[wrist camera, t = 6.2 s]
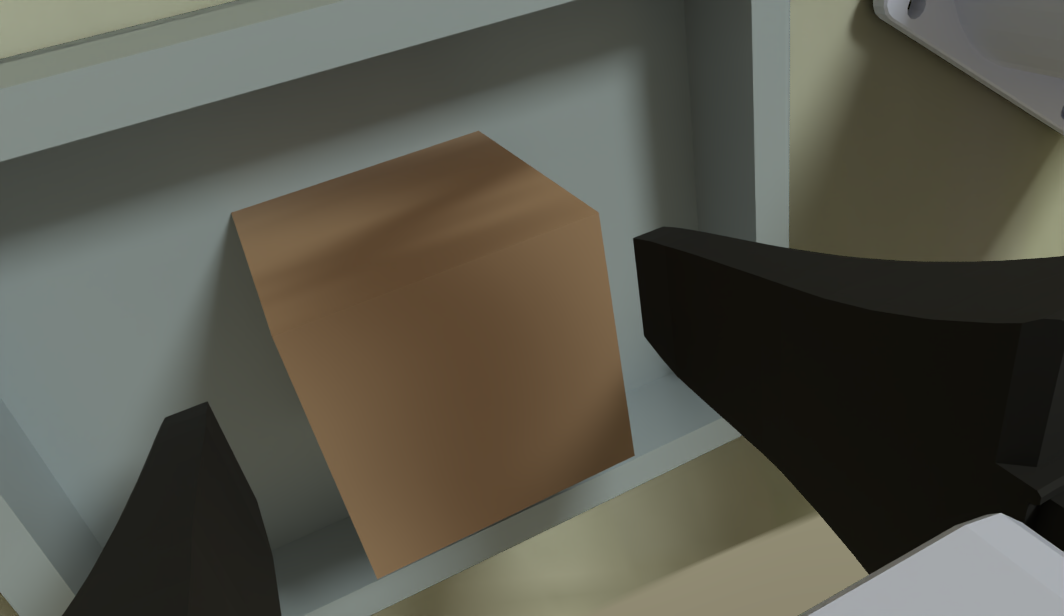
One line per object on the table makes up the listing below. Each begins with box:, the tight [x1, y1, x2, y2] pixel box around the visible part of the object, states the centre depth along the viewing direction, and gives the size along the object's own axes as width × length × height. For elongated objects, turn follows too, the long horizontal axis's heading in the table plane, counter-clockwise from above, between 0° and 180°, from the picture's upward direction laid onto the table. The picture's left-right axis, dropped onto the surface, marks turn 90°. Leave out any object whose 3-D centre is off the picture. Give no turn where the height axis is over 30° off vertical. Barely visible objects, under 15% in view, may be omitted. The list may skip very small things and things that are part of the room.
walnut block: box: [231, 131, 635, 579], centre depth 13 cm, size 4×4×4 cm
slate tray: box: [0, 0, 790, 616], centre depth 14 cm, size 15×11×2 cm
